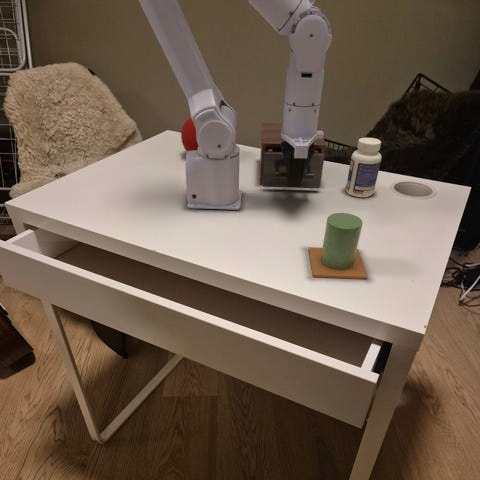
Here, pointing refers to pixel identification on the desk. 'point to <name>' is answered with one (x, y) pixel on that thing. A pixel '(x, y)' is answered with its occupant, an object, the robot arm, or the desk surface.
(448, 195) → the desk surface
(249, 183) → the desk surface
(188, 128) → the apple
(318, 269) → the coaster
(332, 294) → the desk surface
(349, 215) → the tin
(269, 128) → the cabinet
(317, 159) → the drawer
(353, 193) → the pill bottle
